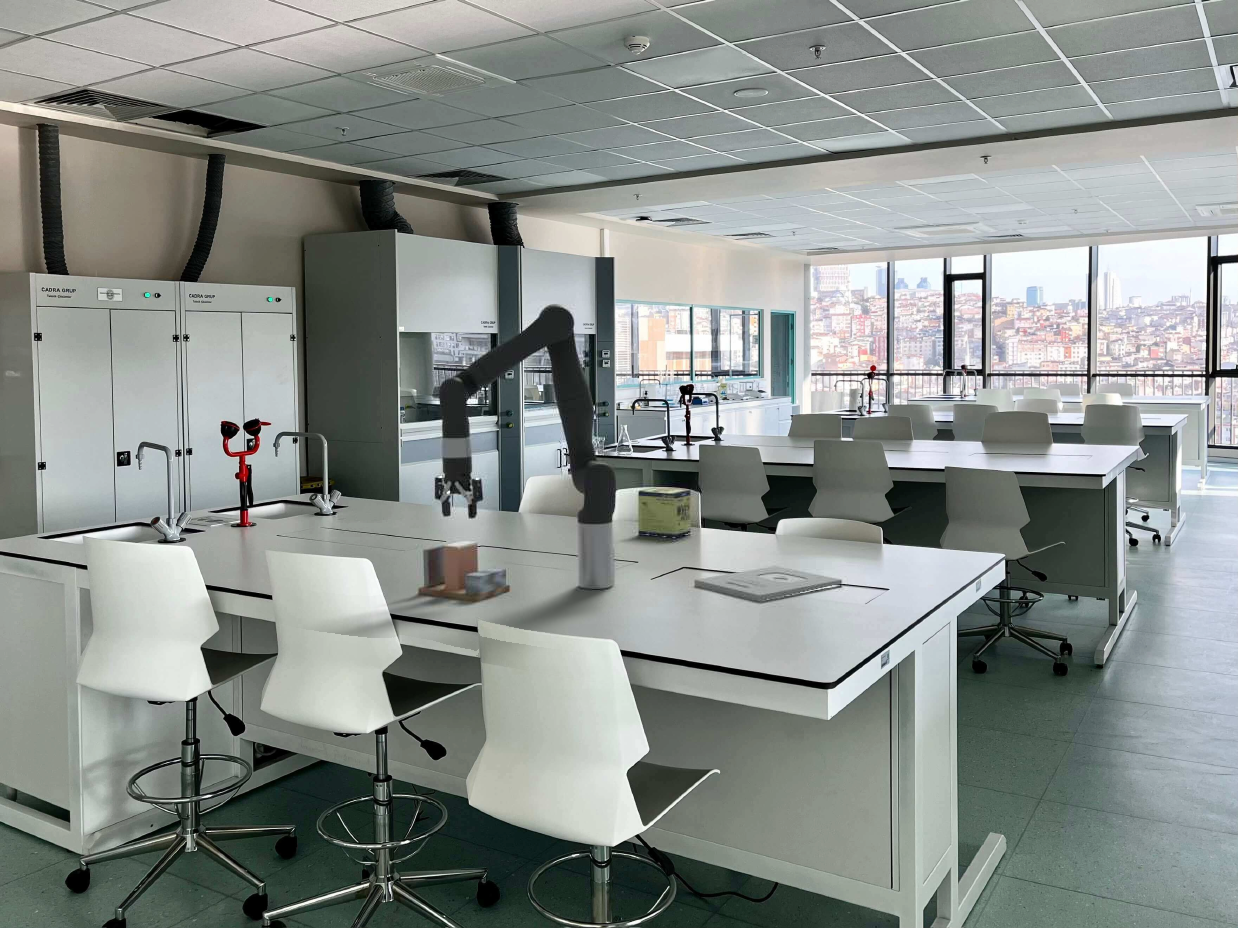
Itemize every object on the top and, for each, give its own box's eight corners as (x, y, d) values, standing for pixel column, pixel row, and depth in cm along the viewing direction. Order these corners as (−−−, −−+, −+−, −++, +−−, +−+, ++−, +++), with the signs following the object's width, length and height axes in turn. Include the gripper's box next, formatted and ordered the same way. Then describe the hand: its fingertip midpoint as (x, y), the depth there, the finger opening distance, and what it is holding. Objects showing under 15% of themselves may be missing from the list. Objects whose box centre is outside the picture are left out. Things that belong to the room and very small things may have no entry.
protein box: (676, 538, 352) (676, 493, 351) (637, 535, 360) (637, 490, 359) (691, 534, 361) (691, 489, 359) (653, 531, 369) (652, 487, 368)
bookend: (452, 578, 280) (451, 543, 279) (456, 578, 279) (455, 543, 278) (424, 585, 271) (423, 549, 270) (428, 586, 270) (427, 550, 269)
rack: (453, 583, 282) (453, 561, 281) (509, 590, 272) (509, 568, 272) (418, 593, 270) (417, 570, 270) (475, 601, 260) (475, 577, 260)
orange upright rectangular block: (464, 582, 276) (463, 540, 275) (478, 584, 274) (477, 542, 273) (444, 588, 269) (443, 545, 268) (458, 589, 267) (457, 546, 266)
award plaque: (694, 587, 276) (694, 579, 276) (775, 573, 294) (775, 565, 293) (759, 603, 256) (759, 595, 256) (841, 587, 274) (841, 579, 274)
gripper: (487, 454, 268) (490, 516, 269) (445, 453, 275) (448, 513, 277) (468, 457, 262) (471, 521, 263) (426, 455, 269) (428, 517, 271)
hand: (459, 517), depth 270 cm, fingers open, 8 cm apart
